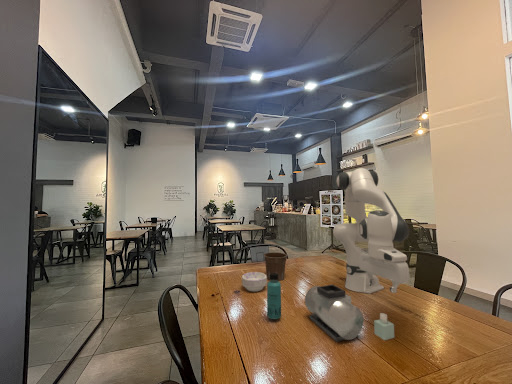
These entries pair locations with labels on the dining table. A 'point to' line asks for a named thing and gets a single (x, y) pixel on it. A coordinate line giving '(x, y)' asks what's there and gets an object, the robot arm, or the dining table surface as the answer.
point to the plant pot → (275, 264)
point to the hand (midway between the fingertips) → (382, 287)
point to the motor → (334, 312)
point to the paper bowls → (254, 281)
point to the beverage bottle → (274, 297)
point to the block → (384, 327)
